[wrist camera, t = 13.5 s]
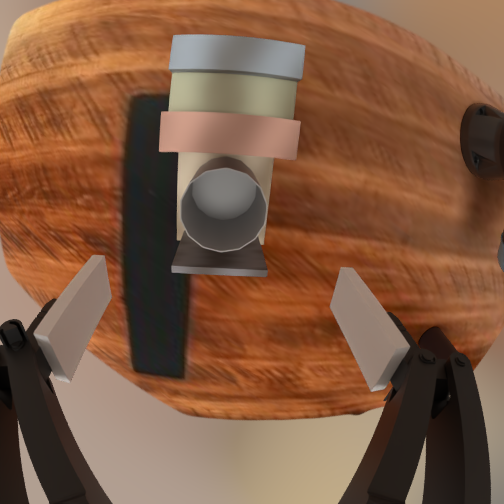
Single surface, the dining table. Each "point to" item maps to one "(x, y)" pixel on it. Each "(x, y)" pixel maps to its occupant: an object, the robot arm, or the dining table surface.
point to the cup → (223, 205)
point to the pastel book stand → (230, 126)
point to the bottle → (437, 343)
